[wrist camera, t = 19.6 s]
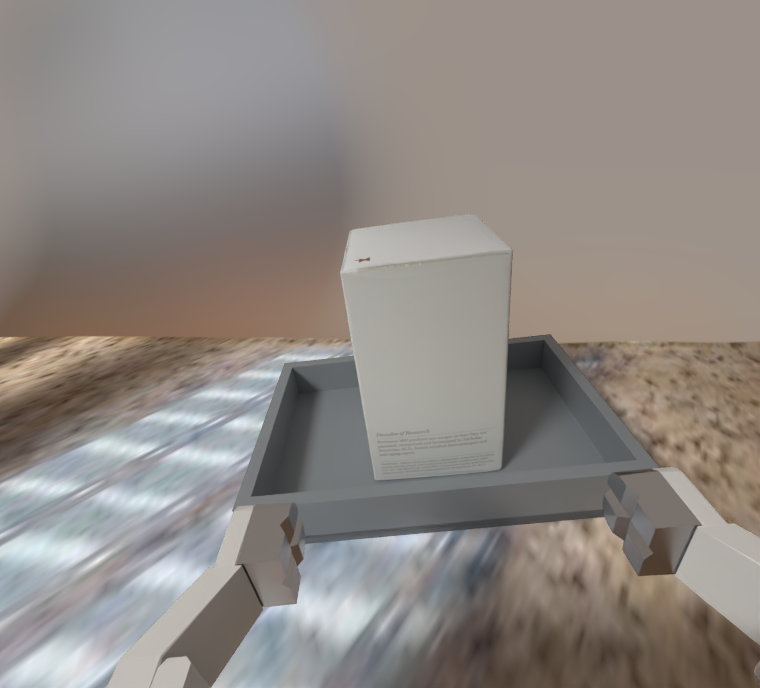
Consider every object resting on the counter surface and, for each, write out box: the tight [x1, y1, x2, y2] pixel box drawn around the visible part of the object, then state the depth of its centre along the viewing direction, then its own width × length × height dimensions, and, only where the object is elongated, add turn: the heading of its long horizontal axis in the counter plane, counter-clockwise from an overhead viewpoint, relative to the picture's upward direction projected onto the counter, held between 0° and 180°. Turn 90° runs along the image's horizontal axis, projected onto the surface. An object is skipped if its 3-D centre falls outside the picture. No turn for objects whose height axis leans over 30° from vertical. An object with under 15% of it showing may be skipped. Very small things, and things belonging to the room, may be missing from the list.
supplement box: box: [340, 214, 513, 480], centre depth 22 cm, size 7×7×13 cm
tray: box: [232, 334, 660, 544], centre depth 25 cm, size 20×13×3 cm, turn 91°
